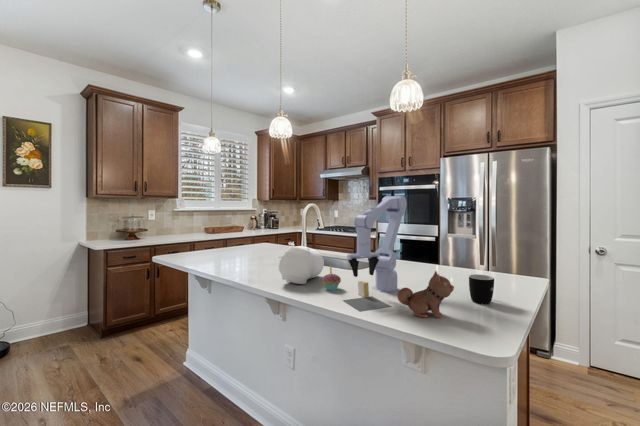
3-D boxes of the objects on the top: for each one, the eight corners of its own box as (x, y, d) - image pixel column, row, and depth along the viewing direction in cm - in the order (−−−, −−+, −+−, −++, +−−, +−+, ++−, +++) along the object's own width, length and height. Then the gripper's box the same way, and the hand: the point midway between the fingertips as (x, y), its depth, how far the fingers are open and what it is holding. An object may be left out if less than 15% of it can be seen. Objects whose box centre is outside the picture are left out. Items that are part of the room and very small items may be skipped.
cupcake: (339, 292, 138) (339, 265, 137) (320, 291, 140) (320, 264, 139) (341, 287, 146) (342, 262, 146) (324, 286, 148) (324, 261, 148)
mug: (493, 307, 119) (494, 280, 119) (467, 303, 123) (468, 278, 123) (493, 298, 130) (493, 274, 129) (469, 295, 134) (469, 272, 134)
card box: (362, 295, 135) (362, 280, 135) (369, 297, 130) (368, 282, 130) (358, 295, 134) (358, 281, 134) (364, 297, 129) (363, 283, 129)
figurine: (457, 320, 105) (458, 276, 105) (398, 317, 109) (398, 274, 108) (450, 310, 115) (450, 270, 115) (396, 307, 118) (396, 268, 118)
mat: (372, 297, 131) (372, 296, 131) (392, 307, 118) (392, 306, 118) (342, 301, 126) (342, 300, 126) (359, 312, 113) (359, 311, 113)
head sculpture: (296, 242, 178) (277, 239, 151) (330, 250, 172) (316, 247, 146) (288, 276, 176) (268, 278, 149) (322, 285, 170) (307, 289, 144)
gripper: (373, 241, 138) (373, 272, 138) (343, 243, 132) (343, 275, 133) (382, 243, 131) (382, 275, 132) (351, 245, 126) (351, 278, 126)
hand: (363, 275), depth 132 cm, fingers open, 7 cm apart
